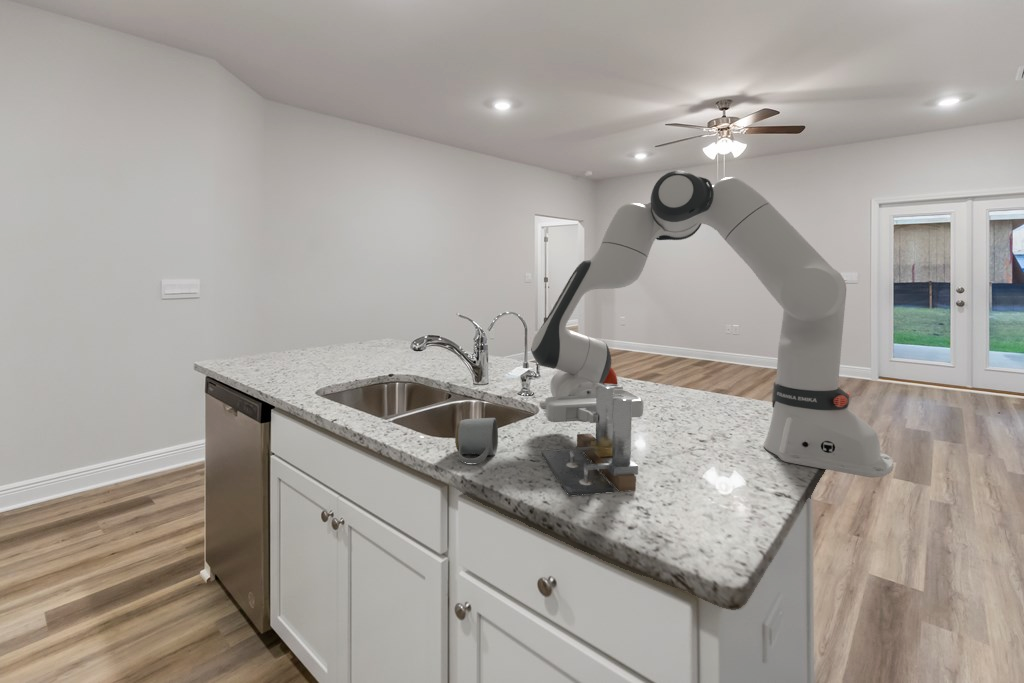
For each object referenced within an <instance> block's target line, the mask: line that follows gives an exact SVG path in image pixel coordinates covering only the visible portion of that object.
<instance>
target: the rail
mask: <svg viewBox="0 0 1024 683" xmlns="http://www.w3.org/2000/svg"><path fill="white" fill-rule="evenodd" d="M591 441H596V437H594V436H593V435H592V433H578V434H576V445H577V448H580V447H591ZM583 454H584V455H585V456H586V457H587V459H588V460H589V461H590V462H591V463H592V464H601V463H605V458H612V456H604V457H598V456H597V455H596V454H595V453H594V452H583ZM598 471H599V472H600V473H601V474H602V475H603V476H604V477H605V479H606V480H607V481H608V482H609V483H610V484H611V485H612V486H613V487H614V486H615V487H616V488H617V489H618V490H619V491H623V492H630V491H629V490H634V491H636V488H637V486H636V484H637V476H636V475H626V476H613V475H612V474H611V473H610V472H609V471H608V470H607V469H598ZM615 487H614V488H615ZM616 488H615V489H616ZM617 489H616V490H617ZM618 490H617V491H618ZM619 491H618V492H619Z"/></svg>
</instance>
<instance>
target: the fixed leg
mask: <svg viewBox="0 0 1024 683" xmlns="http://www.w3.org/2000/svg"><path fill="white" fill-rule="evenodd" d="M632 418H633V417H632V399H630V398H624V397H618V398H614V399H613V440H612V458H605V463H601V464H594V463H592V464H588V465H584V481H588V470H596V469H597V470H599V469H607V470H608V471H609V472H610V473H611V474H612V475H613V476H626V475H635V476H636V475H639V465H638V464H636V462H634V461H633V460H632V459H631V456H632V454H631V453H632V450H631V449H632V423H633V422H632V420H633V419H632Z"/></svg>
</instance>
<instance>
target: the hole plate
mask: <svg viewBox="0 0 1024 683" xmlns="http://www.w3.org/2000/svg"><path fill="white" fill-rule="evenodd" d="M540 451H541V454H542V455H541V456H542V458H543V457H544V458H543V459H544V461H545V460H546V461H545V462H546V463H547V465H548V467H549V468H550V470H551V471H552V472H553V474H554V476H555V477H556V479H557V478H558V479H557V480H558V482H559V481H560V482H559V483H560V485H561V484H562V485H561V486H562V488H563V487H564V488H563V489H564V491H565V490H566V491H565V492H566V494H567V493H568V494H567V495H568V497H571V496H570V495H577V496H585V495H584V494H589V495H596V494H595V493H600V494H607V493H606V492H612V493H615V487H614V485H613V484H612V483H611V482H610V481H609V480H608V479H607V478H606V477H605V476H604V474H603V473H602V472H601V471H600V470H599V469H596V470H588V481H584V465H588V464H593V462H592V461H591V460H590V459H589V458H588V457H587V456H586V455H585V454H584V452H580V453H574V463H570V451H571V448H562V449H561V448H560V449H552V450H551V449H549V450H548V449H547V450H540ZM582 494H583V495H582Z"/></svg>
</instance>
